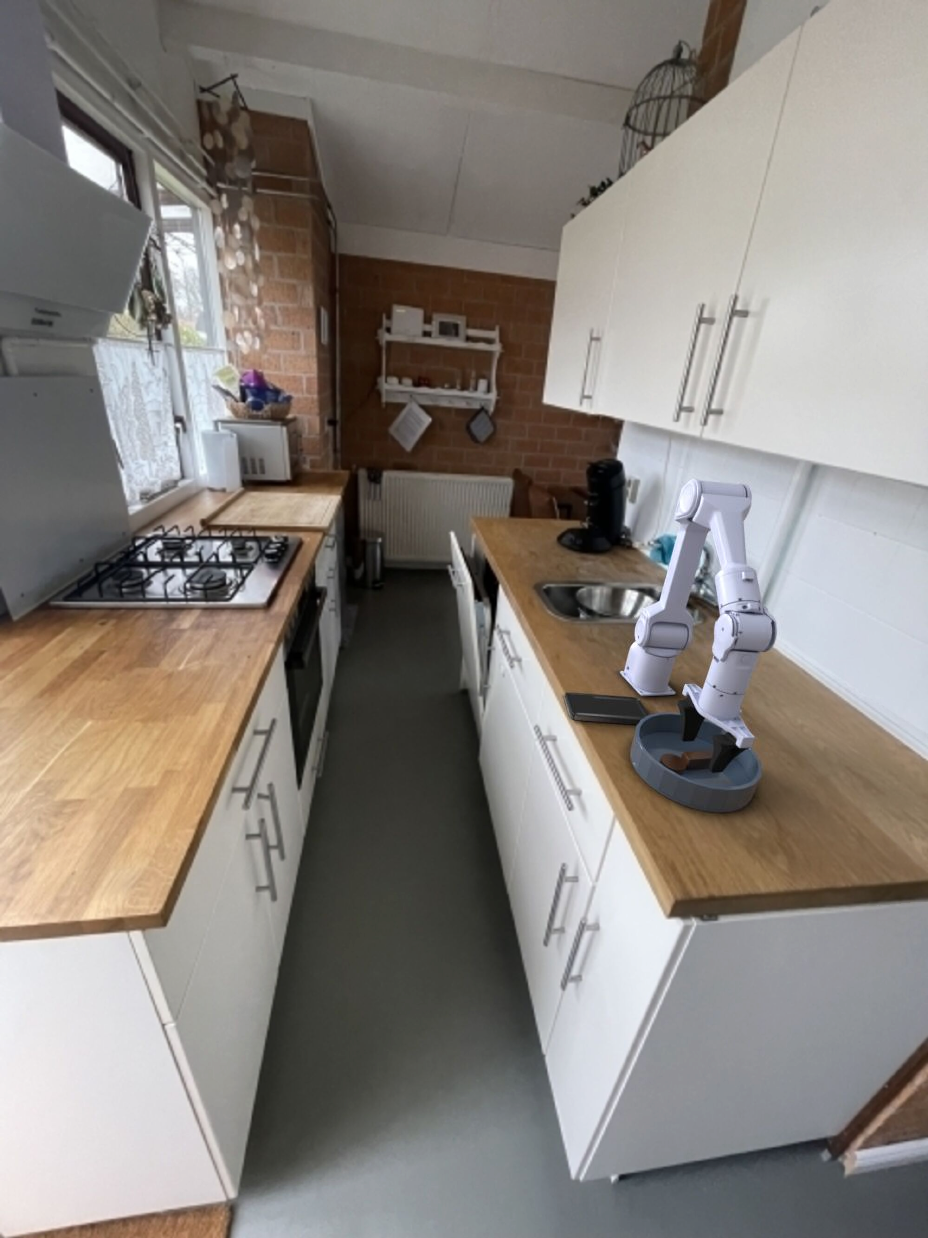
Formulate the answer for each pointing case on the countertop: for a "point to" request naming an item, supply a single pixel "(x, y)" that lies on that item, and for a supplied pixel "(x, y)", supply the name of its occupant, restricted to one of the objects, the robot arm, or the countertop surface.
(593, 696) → the phone
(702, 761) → the brown elongated piece
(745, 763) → the shallow round tray
